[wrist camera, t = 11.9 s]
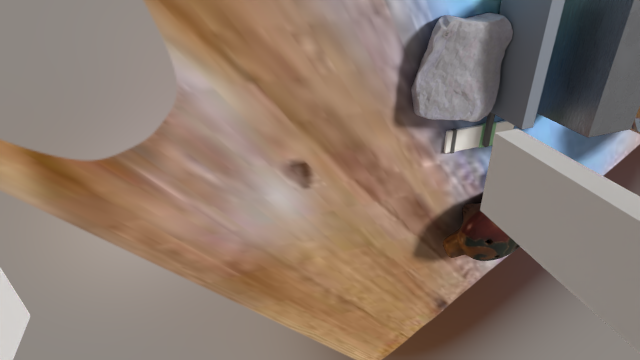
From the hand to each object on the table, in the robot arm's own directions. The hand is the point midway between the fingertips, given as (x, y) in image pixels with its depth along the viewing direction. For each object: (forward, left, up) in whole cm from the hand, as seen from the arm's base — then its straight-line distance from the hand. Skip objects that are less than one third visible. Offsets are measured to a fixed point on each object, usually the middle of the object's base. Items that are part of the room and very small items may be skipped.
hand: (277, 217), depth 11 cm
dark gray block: (+6, +41, -32) cm, 52 cm away
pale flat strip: (+17, +32, -32) cm, 48 cm away
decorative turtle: (+30, +34, -32) cm, 55 cm away
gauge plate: (+9, +32, -31) cm, 46 cm away
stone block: (+7, +26, -32) cm, 42 cm away
